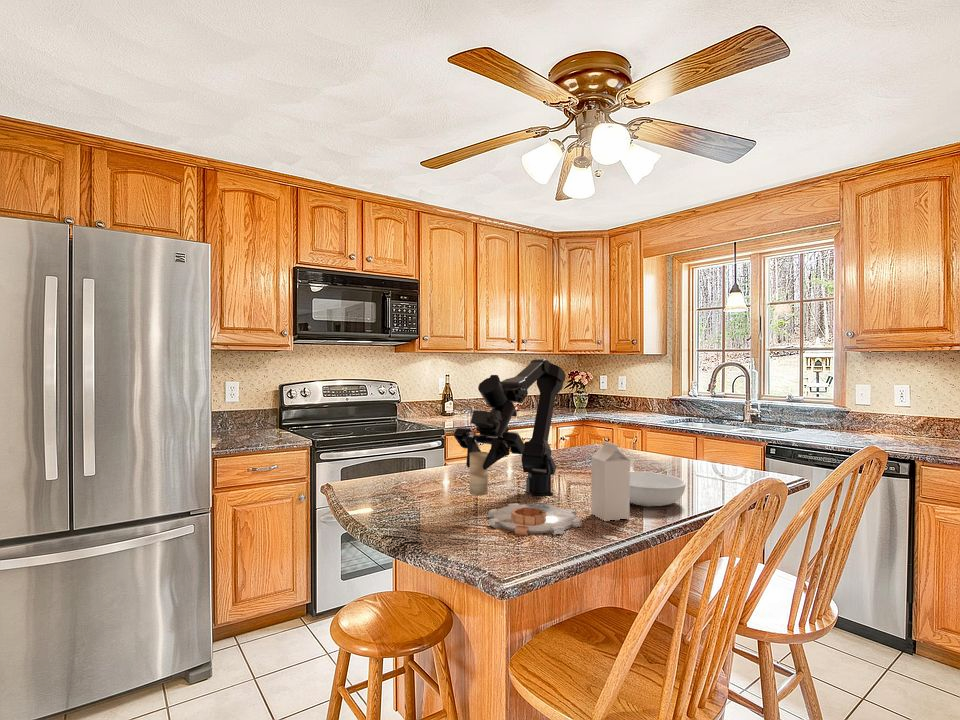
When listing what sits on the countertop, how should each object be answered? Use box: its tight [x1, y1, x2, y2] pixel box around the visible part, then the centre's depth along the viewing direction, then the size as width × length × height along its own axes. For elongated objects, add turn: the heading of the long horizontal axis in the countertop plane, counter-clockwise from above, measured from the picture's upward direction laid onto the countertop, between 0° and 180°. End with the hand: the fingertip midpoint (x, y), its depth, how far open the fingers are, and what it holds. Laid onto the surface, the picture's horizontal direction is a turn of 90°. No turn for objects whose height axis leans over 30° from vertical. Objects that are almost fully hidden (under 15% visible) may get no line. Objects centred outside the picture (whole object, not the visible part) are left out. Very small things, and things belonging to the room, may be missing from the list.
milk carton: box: [590, 440, 631, 522], centre depth 139 cm, size 7×7×19 cm
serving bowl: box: [630, 471, 687, 507], centre depth 154 cm, size 21×21×7 cm
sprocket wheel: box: [487, 502, 583, 536], centre depth 136 cm, size 23×23×4 cm
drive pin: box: [469, 451, 489, 496], centre depth 136 cm, size 4×4×10 cm
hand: (475, 467), depth 135 cm, fingers closed on drive pin, 4 cm apart
